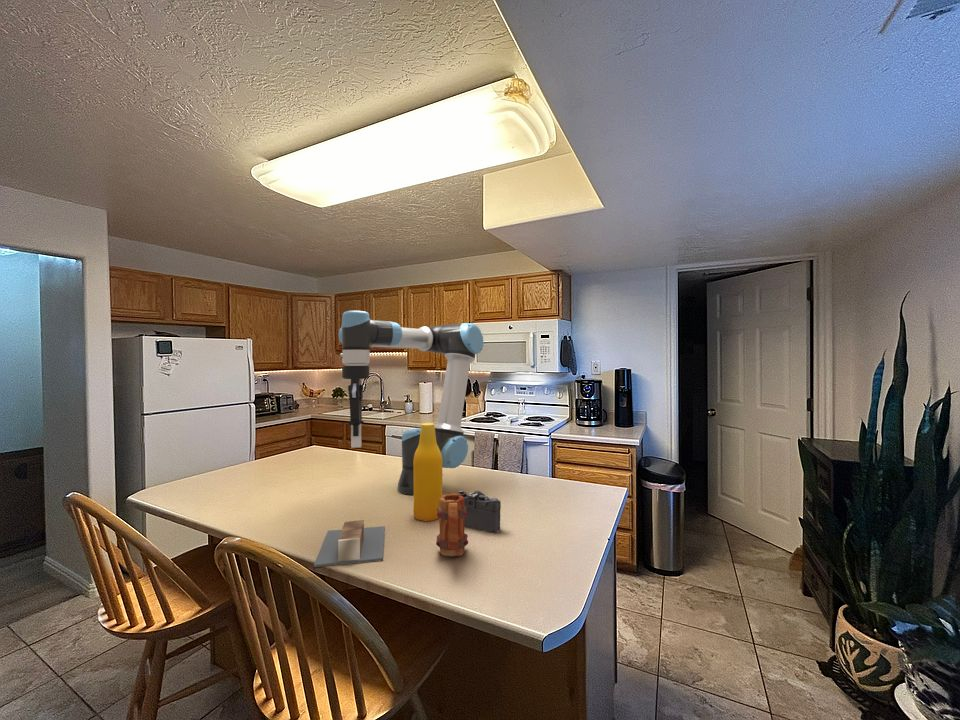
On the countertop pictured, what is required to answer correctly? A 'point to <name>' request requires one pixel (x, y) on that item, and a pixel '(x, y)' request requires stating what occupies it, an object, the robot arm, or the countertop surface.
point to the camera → (481, 511)
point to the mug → (452, 525)
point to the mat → (369, 553)
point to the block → (351, 541)
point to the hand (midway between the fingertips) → (356, 446)
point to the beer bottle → (427, 475)
